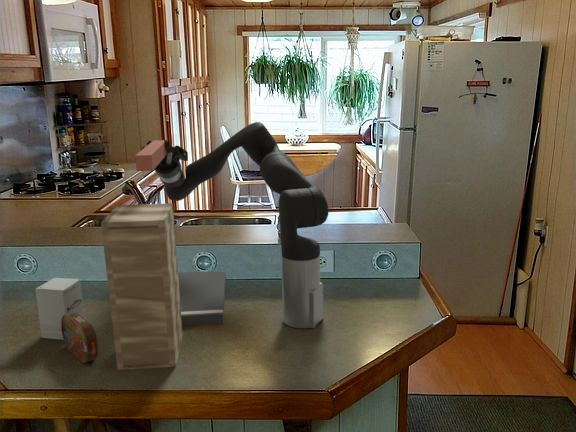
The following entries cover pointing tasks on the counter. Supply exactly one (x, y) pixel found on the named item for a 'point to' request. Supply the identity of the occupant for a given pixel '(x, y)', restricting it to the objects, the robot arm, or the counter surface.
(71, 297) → the supplement box
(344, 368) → the counter surface
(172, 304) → the shelf stand
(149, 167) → the bar
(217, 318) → the mat
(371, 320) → the counter surface
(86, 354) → the tin
